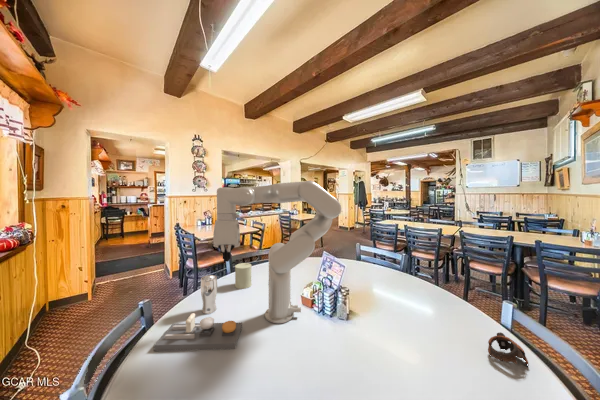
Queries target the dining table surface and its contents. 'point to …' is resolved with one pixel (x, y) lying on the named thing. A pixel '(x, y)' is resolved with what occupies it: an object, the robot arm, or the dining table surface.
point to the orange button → (229, 326)
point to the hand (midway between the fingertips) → (226, 260)
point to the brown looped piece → (504, 344)
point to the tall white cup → (209, 293)
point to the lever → (190, 324)
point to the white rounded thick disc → (206, 323)
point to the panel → (198, 338)
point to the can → (243, 275)
